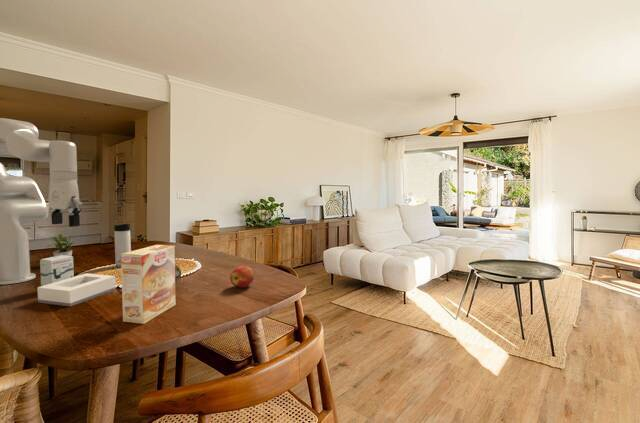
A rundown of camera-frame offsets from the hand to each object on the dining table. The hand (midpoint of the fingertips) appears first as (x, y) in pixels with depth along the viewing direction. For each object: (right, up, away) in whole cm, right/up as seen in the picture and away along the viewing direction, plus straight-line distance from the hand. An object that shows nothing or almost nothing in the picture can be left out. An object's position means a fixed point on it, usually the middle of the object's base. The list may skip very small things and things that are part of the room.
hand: (65, 225), depth 115 cm
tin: (+29, -24, +9) cm, 39 cm away
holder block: (+8, -24, -4) cm, 26 cm away
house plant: (-32, -20, +37) cm, 53 cm away
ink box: (-4, -24, +2) cm, 24 cm away
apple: (+61, -24, +8) cm, 66 cm away
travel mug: (-1, -21, +36) cm, 42 cm away
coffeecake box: (+40, -26, -17) cm, 50 cm away
